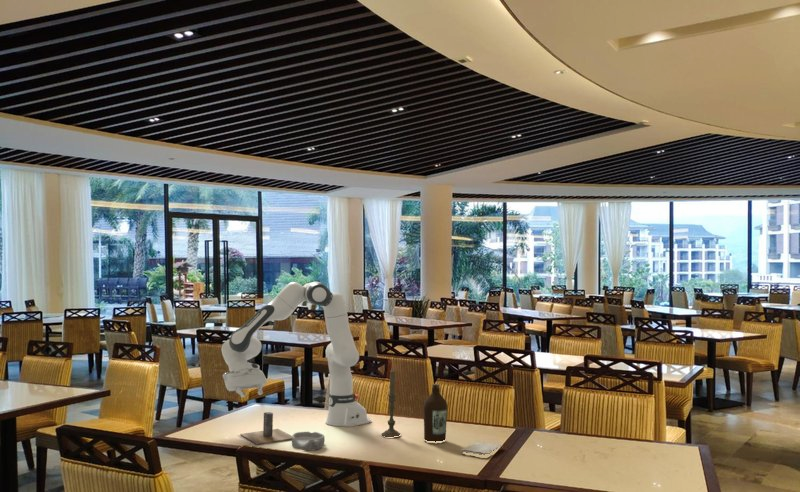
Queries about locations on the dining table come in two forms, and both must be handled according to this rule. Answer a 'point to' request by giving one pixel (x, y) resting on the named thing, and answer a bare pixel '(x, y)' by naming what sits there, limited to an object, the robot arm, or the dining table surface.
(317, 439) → the dish
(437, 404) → the olive oil
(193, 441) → the dining table surface
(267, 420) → the lid
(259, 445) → the mat
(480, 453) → the washcloth
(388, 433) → the candlestick holder
